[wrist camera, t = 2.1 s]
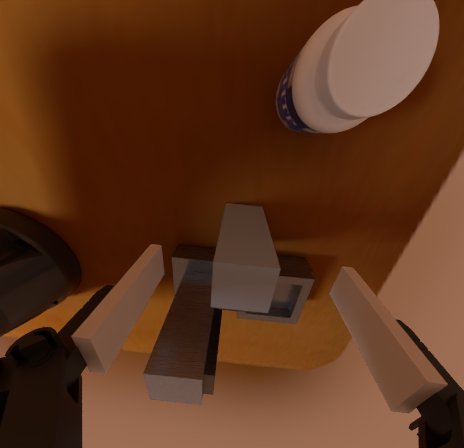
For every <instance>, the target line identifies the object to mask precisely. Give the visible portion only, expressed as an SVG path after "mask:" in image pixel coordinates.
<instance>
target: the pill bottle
mask: <svg viewBox="0 0 464 448" xmlns="http://www.w3.org/2000/svg"><path fill="white" fill-rule="evenodd" d="M438 36H439V15H438V10H437V7H436V4H435V2H434V0H363V1H362V2H361V3H360V4H359V5H358V6H353V7H349V8H347V9H344V10H342V11H340V12H338V13H336V14H335V15H333V16H332V17H330V18H329V19H328V20H327V21H325V22H324V23H323V24H322V25H321V26H320V27H319V28H318V29H317V30H316V31H315V32H314V34H313V35H312V36H311V37H310V38H309V40H308V41H307V43H306V44H305V45H304V47H303V48H302V49H301V51H300V52H299V54H298V55H297V56H296V58H295V59H294V61H293V62H292V63H291V65H290V66H289V67H288V69H287V70H286V72H285V73H284V75H283V76H282V78H281V80H280V83H279V86H278V89H277V94H276V108H277V112H278V115H279V118H280V119H281V121H282V123H283V124H284V125H285V126H286V127H287V128H289V129H291V130H292V131H295V132H301V133H337V132H342V131H345V130H348V129H351V128H353V127H355V126H357V125H359V124H360V123H362V122H363V121H364V120H366V119H367V118H368V117H372V116H376V115H378V114H381V113H383V112H385V111H387V110H389V109H391V108H393V107H394V106H396V105H397V104H398V103H400V102H401V101H402V100H403V99H405V98H406V97H407V96H408V95H409V94H410V93H411V91H412V90H413V89H414V88H415V87H416V86H417V84H418V83H419V82H420V80H421V79H422V77H423V76H424V74H425V73H426V71H427V69H428V67H429V65H430V63H431V60H432V58H433V55H434V53H435V50H436V46H437V42H438Z"/></svg>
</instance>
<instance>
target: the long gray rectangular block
mask: <svg viewBox="0 0 464 448" xmlns="http://www.w3.org/2000/svg"><path fill="white" fill-rule="evenodd" d="M279 273H280V265H279V262H278V258H277V255H276V251H275V248H274V245H273V241H272V238H271V234H270V231H269V227H268V224H267V220H266V217H265V214H264V210H263V207H261V206H252V205H242V204H233V203H226V206H225V210H224V215H223V219H222V224H221V228H220V233H219V238H218V242H217V247H216V251H215V256H214V260H213V274H212V292H211V307H214V308H218V309H221V310H231V311H240V312H250V313H259V312H262V313H268V311H269V308H270V304H271V301H272V297H273V294H274V290H275V287H276V283H277V280H278V276H279Z"/></svg>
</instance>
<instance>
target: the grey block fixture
mask: <svg viewBox="0 0 464 448" xmlns="http://www.w3.org/2000/svg"><path fill="white" fill-rule="evenodd" d="M215 251H216V249H214V248H205V247H195V246H185V245H178V247H177V249H176V250H175V252H174V254H173V256H172V268H173V281H174V293H175V297H174V299H173V302H172V304H171V307H170V309H169V312H168V314H167V317H166V319H165V321H164V324H163V326H162V329H161V331H160V334H159V336H158V338H157V341H156V343H155V346H154V348H153V351H152V353H151V356H150V358H149V361H148V363H147V365H146V368H145V370H144V373H143V376H144V379H145V383H146V386H147V390H148V394H149V397H150V399H151V400H160V401H170V402H180V403H189V404H198V405H201V404H202V398H203V394H213V390H214V380H215V372H216V363H217V354H218V345H219V335H220V326H221V317H222V310H221V309H218V308H214V307H211V292H212V274H213V260H214V256H215ZM277 258H278V262H279V265H280V273H279V276H278V280H277V283H276V287H275V290H274V294H273V297H272V301H271V304H270V308H269V311H268V313H262V312H259V313H250V312H240V311H237V318H243V319H252V320H262V321H271V322H281V323H290V324H297V322H298V319H299V317H300V314H301V312H302V310H303V307H304V305H305V302H306V300H307V297H308V295H309V293H310V290H311V288H312V285H313V283H314V281H315V279H314V277H313V275H312V273H313V272H312V270H311V268H310V266H309V264H308V262H307V260H306V258H300V257H290V256H281V255H277Z"/></svg>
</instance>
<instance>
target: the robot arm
mask: <svg viewBox="0 0 464 448" xmlns="http://www.w3.org/2000/svg"><path fill="white" fill-rule="evenodd" d="M164 274H165V273H164V264H163V255H162V245H156V244H151V245H150V246H149V247H148V248H147V249H146V250H145V252H144V253H143V254H142V255H141V256H140V257H139V259H138V260H137V261H136V262H135V263H134V264H133V265H132V267H131V268H130V269H129V270H128V271H127V272H126V274H125V275H124V276H123V277H122V278H121V279H120V281H119V282H118V283H117V284H116V285H115V286H112V285H106V286H105V287H103V288H102V289H100V290H99V291H97V292H96V293H95V294H94V295H93V296H92V297H91V299H90V300H89V302H87V303H86V304H85V305H84V306H83V308H82V309H80V310H79V311H78V312H77V313H76V314H75V315H74V316H73V318H72V319H71V320H70V321H69V322H68V323H67V324H66V325H65V326H64V327H63V328H62V329H61V330H60V331H59V332H58V333H57V332H56V331H55V330H54V329H53V328H51V327H43V328H39V329H35V330H33V331H31V332H29V333H27V334H25V335H24V336H22V337H21V338H19V339H18V340H16V342H14V344H12V345H11V346H10V348H9V349H8V351H7V352H6V354H5V356H6V357H3V358H0V448H82V376H81V373H82V371H83V370H84V369H85V367H86V366H87V367H88V369H89V370H90V372H96V373H103V374H106V373H107V372H108V370H109V368H110V367H111V365H112V363H113V362H114V360H115V358H116V356H117V355H118V353H119V351H120V350H121V348H122V346H123V344H124V343H125V341H126V339H127V338H128V336H129V334H130V332H131V331H132V329H133V327H134V325H135V324H136V322H137V320H138V319H139V317H140V315H141V313H142V312H143V310H144V308H145V307H146V305H147V303H148V301H149V300H150V298H151V296H152V295H153V293H154V291H155V289H156V288H157V286H158V284H159V282H160V281H161V279H162V277H163V276H164ZM80 279H81V272H80V267H79V264H78V262H77V260H76V258H75V256H74V255H73V253H72V252H71V250H70V249H69V248H68V247H67V246H66V244H65V243H64V242H63V241H62V240H61V239H60V238H59V237H58V236H56V235H55V234H54V233H53V232H51V231H50V230H49V229H47V228H46V227H45V226H43V225H41V224H40V223H38V222H36V221H35V220H33V219H31V218H29V217H27V216H24V215H22V214H20V213H17V212H14V211H11V210H7V209H3V208H0V337H1V336H3V335H4V334H6V333H8V332H10V331H11V330H13V329H15V328H17V327H19V326H20V325H22V324H24V323H26V322H28V321H29V320H31V319H33V318H35V317H36V316H38V315H40V314H41V313H43V312H44V311H46V310H47V309H50V308H53V307H54V306H56V305H58V304H60V303H61V302H62V301H64V300H65V299H66V298H67V297H68V296H69V295H70V294H71V293H72V292H73V291H74V290H75V289H76V288H77V287H78V285H79V283H80ZM329 294H330V296H331V298H332V300H333V302H334V304H335V306H336V307H337V309H338V311H339V313H340V315H341V317H342V319H343V321H344V323H345V324H346V326H347V328H348V330H349V332H350V334H351V336H352V338H353V339H354V341H355V343H356V345H357V347H358V349H359V351H360V353H361V354H362V357H363V359H364V360H365V362H366V364H367V366H368V368H369V370H370V372H371V374H372V375H373V377H374V379H375V381H376V383H377V385H378V387H379V389H380V391H381V392H382V394H383V396H384V398H385V400H386V402H387V404H388V406H389V408H390V410H391V411H394V412H402V413H410V412H411V411H413V410H414V409H415V408H417V409H418V411H419V412H420V414H421V417H420V418H418V419H417V420H415V421H414V422H412V423H411V424H410V426H409V429H410V430H414V429H416V428H417V427H419V428H418V430H419V433H417V435H418V436H419V448H464V390H463V389H462V388H461V387H460V386H459V385H458V384H457V383H456V382H455V380H454V379H453V378H452V377H451V376H450V374H449V373H448V372H447V371H446V370H445V369H444V367H443V366H442V365H441V364H440V363H439V362H438V360H437V359H436V358H435V357H434V356H433V355H432V353H431V352H430V351H428V349H427V347H426V346H425V345H424V344H423V343H422V342H420V339H419V338H418V337H417V336H416V335H415V333H414V332H413V331H412V330H411V329H410V328H409V327H408V326H406V325H405V324H404V323H403V322H402V321H400V320H395V318H394V317H393V316H392V315H391V314H390V312H388V310H387V309H386V307H385V306H384V305H383V304H382V302H381V301H380V300H379V299H378V298H377V296H376V295H375V294H374V293H373V291H372V290H371V289H370V288H369V286H368V285H367V284H366V283H365V282H364V280H363V279H362V278H361V277H360V275H359V274H358V273H357V272H356V270H355V269H354V268H353V267H344V266H342V268H341V270H340V272H339V274H338V276H337V278H336V280H335V282H334V285H333V287H332V289H331V291H330V293H329Z"/></svg>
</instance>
